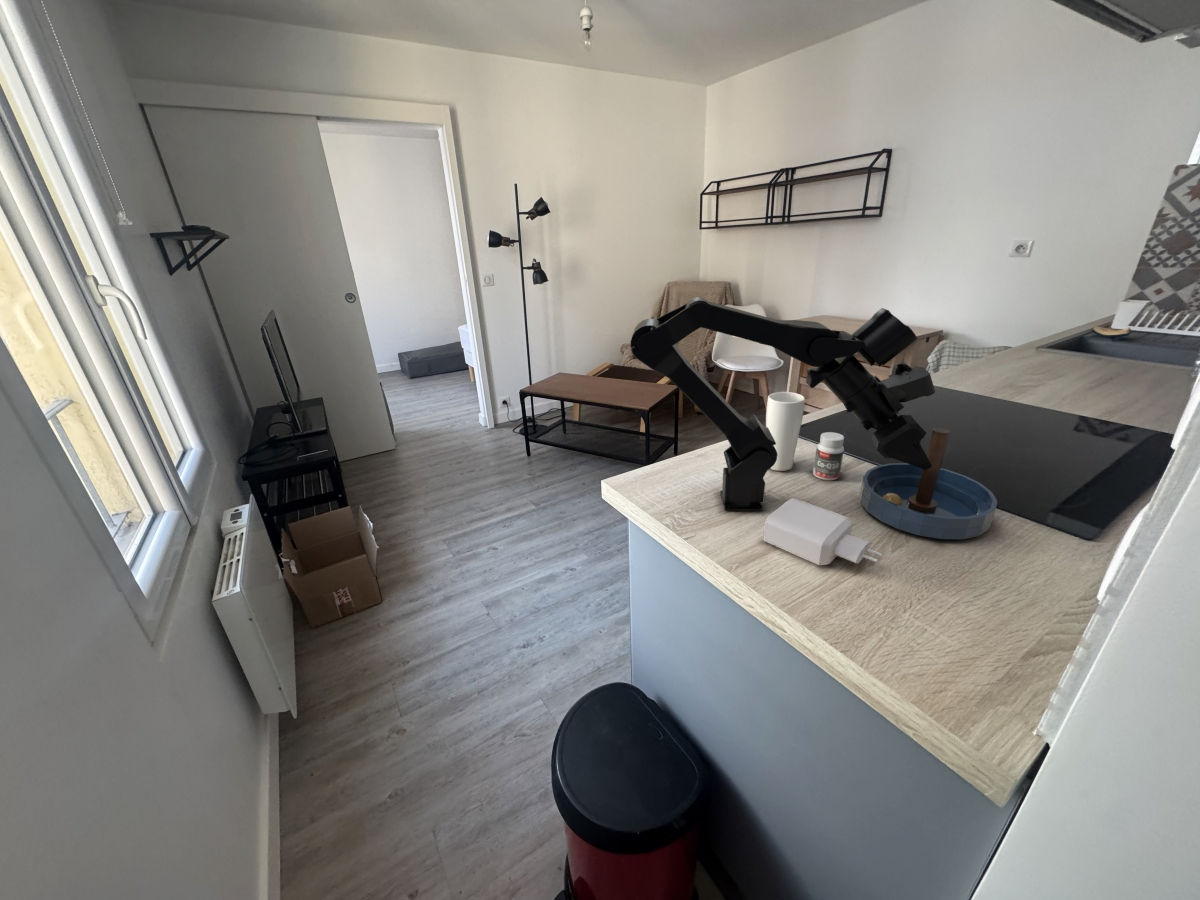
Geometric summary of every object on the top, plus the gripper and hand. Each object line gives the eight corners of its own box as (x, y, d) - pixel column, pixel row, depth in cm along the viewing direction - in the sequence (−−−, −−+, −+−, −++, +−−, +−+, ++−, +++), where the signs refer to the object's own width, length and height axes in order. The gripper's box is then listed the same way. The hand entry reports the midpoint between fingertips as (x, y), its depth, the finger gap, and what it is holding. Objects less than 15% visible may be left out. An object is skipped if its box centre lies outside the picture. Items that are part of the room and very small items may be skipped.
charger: (863, 589, 63) (762, 543, 73) (888, 557, 69) (791, 519, 79) (870, 560, 61) (765, 518, 71) (895, 530, 67) (794, 495, 77)
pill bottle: (812, 479, 91) (818, 439, 87) (812, 468, 94) (818, 430, 91) (839, 482, 89) (846, 442, 85) (838, 471, 93) (845, 432, 89)
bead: (874, 497, 78) (892, 487, 77) (879, 502, 80) (896, 493, 79) (886, 511, 76) (903, 501, 75) (890, 516, 78) (908, 507, 77)
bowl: (887, 543, 72) (893, 518, 70) (843, 484, 88) (847, 463, 86) (1017, 544, 69) (1027, 518, 68) (947, 484, 86) (953, 462, 84)
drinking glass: (799, 474, 93) (808, 403, 86) (763, 473, 94) (769, 402, 88) (793, 459, 98) (801, 391, 92) (759, 458, 100) (765, 391, 94)
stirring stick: (927, 516, 76) (949, 437, 70) (902, 505, 79) (921, 429, 73) (940, 508, 78) (962, 430, 72) (915, 498, 81) (934, 423, 75)
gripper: (924, 367, 61) (999, 449, 63) (887, 337, 77) (947, 403, 79) (848, 420, 67) (918, 494, 68) (828, 382, 83) (885, 442, 84)
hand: (918, 454), depth 75 cm, fingers open, 9 cm apart
